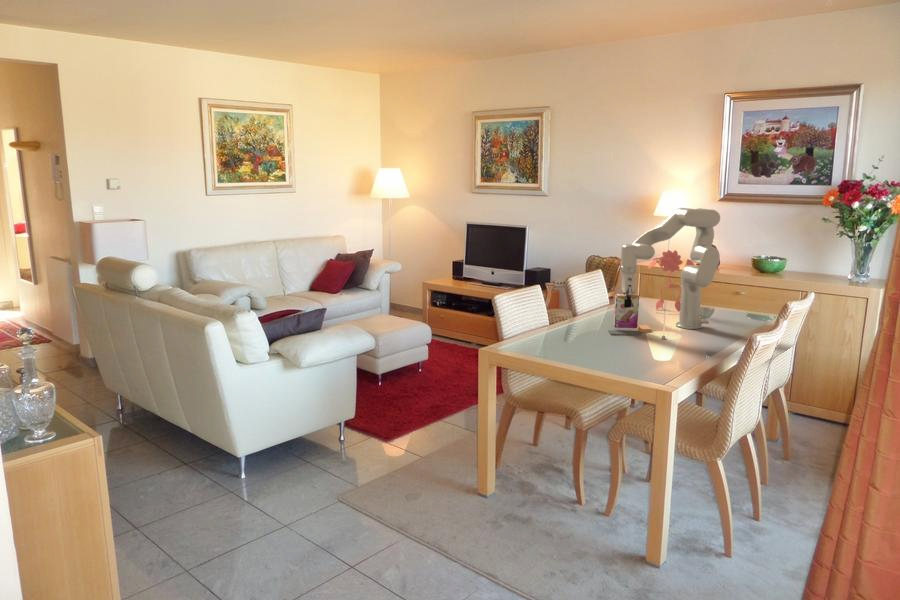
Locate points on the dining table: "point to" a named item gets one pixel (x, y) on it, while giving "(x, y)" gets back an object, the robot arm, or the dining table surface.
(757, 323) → the dining table surface
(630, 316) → the candy bar box
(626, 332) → the rubber pad
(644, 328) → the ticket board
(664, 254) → the pink artificial flower
